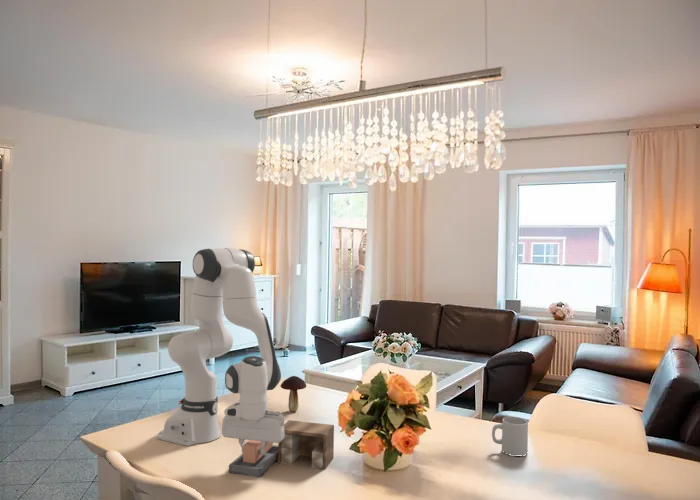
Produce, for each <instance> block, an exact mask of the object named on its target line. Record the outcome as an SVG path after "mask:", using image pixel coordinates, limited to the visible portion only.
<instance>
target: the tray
mask: <svg viewBox="0 0 700 500" xmlns="http://www.w3.org/2000/svg"><path fill="white" fill-rule="evenodd" d="M277 462H278V445H274V444H273V446H272V447H271V448H270V449H269V450H268V451H267V452H266V453H265V454H264V455H263V456H262V457H261V458H260V459H259V460H258V461H257V462H255V463H250V462H243V453H242V452H241V454H240V455H239V456H238V457H237V458H235V459H234V460H233V461H232V462H231V463H229V464H228V473H229V474H233V475H234V474H235V475H241V476H250V477H257V478H261V477H263V475H264V474H265V473H267V472H268V470H269V469H270V468H271V467H272V466H273V465H274V464H275V463H277Z"/></svg>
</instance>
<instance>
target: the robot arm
mask: <svg viewBox="0 0 700 500" xmlns="http://www.w3.org/2000/svg"><path fill="white" fill-rule="evenodd" d="M255 267H256V261H255V257H254V255H253V254H252V252H251V251H248V250H247V249H246V250H245V249H242V248H241V249H236V248H231V247H230V248H227V247H224V248H203V249H200V250H198V251H197V252H196V253H195V254H194V256H193V259H192V269H193V272H194V274H195V277H194V280H193V285H192V292H191V300H190V307H189V308H190V309H189V310H190V311H189V313H190V315H191V316H192V317H193V319H195V320H197V321H198V323H199V328H198V330H193V331H187V332H186V331H185V332H182V333H179V334H177V335H175V336H173V337H171V339H170V341H169V343H168V347H167V350H168V351H167V353H168V356H169V357H170V359H171V361H173V362H174V363H175V364H177V365H178V366H179V367H180V369H181V371H182V374H183V377H184V387H185V389H184V390H185V391H184V394H185V395H184V397H183V398H182V399H181V400H179V401H178V405H181V406H180V408H179V409H177V410H176V411H175V412H174V413H172V414H171V415H170V416H168V417H167V418H166V419H165V422H164V426H163V429H161V431H159V432H158V433H157V435H156V439H157V440H161V441H165V442H169V443H174V444H176V445H182V446H192V445H197V444H203V443H209V442H212V441H216V440H217V439H218V438H220V437H221V434H222V436H223V438H229V439H230V438H231V439H236V440H237V439H238V444H239V445H240V447H241V454H242V453H243V445H244V444H246V442H245V441H247V440H248V441H249V440H255V441H261V444H263V445H262V447H260V448H259V449H258V455H263V454H264V448H265V446H266V445H267V443H268V442H273V444H275V443H276V444H278V443H280V442H281V441H282V440H283V439H284V437H285V431H284V424H285V416H284V414H283V413H281V412H280V411H273V410H268V409H269V408H268V407H269V406H268V405H269V403H268V402H269V401H268V400H269V398H268V393H267V391H273V390H274V389H275V388H277V386H278V385H279V383H280V382H281V379H282V373H281V367H280V365H279V363H278V360H277V356H276V351H275V346H274V342H273V341H274V340H273V337H272V333H271V328H270V325H269V321H268V318H267V316H266V314H265V313H264V312H262V311H261V310H260V308H259V305H258V302H257V291H256V284H255V279H254V275H253V273H254V271H255ZM223 315H224V317H225V318H226V319H227V320H228V322H230V323H231V324H233V325H235V326H237V327H241V328H244V329H246V330H250V331H251V332H253V334H254V335H255V336H256V339H257V343H258V349H259V355H260V356H256V355H251V356H250V355H249V356H245V357H243V358H242V359H241V361H240V362H238V363H237V362H236V363H235V364H231V365H230V366H229V367H228V368H227V370H226V371H225V374H224V378H225V379H224V384H225V388H226V389H227V390H228V391H229V392H230V393H232V394H235V395H236V394H239V396H240V397H239V400H238V402H235V403H232V404H231V405H229V406H227V407H226V408H225V409H224V411H223V412H224V415H225V416H224V417H223V419H222V424H221V431H220V426H219V421H218V409H219V407H218V404H219V403H218V402H219V401H218V400H219V399H218V398H219V397H218V396H217V394H218V393H217V392H218V391H217V390H218V389H217V388H218V387H217V386H218V384H217V383H218V382H217V381H218V378H217V375H216V373H215V372H213V370H210V369H208V367H207V363H206V362H207V360H210V359H215V358H219V357H222V356H223V355H225V354H227V353H229V352H230V351H231V350H232V348H233V344H234V343H233V342H234V340H233V335H232V333H231V332H230V330H229V329H227V328H226V327H225V324H224V321H223Z"/></svg>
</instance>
